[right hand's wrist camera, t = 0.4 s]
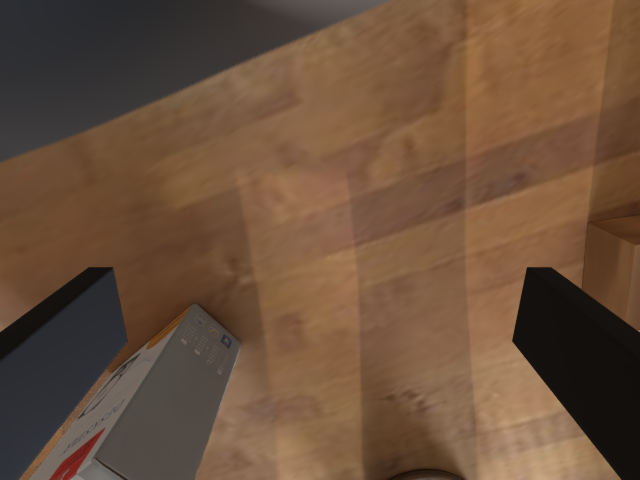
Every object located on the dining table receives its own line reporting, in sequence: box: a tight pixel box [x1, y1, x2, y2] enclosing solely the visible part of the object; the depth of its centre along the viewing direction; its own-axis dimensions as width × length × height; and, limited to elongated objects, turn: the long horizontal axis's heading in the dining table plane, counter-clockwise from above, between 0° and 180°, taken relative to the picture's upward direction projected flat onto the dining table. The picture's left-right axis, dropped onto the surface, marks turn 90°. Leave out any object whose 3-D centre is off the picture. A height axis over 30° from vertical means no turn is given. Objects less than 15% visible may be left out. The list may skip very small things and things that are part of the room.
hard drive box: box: [29, 303, 241, 480], centre depth 36 cm, size 16×8×20 cm, turn 131°
